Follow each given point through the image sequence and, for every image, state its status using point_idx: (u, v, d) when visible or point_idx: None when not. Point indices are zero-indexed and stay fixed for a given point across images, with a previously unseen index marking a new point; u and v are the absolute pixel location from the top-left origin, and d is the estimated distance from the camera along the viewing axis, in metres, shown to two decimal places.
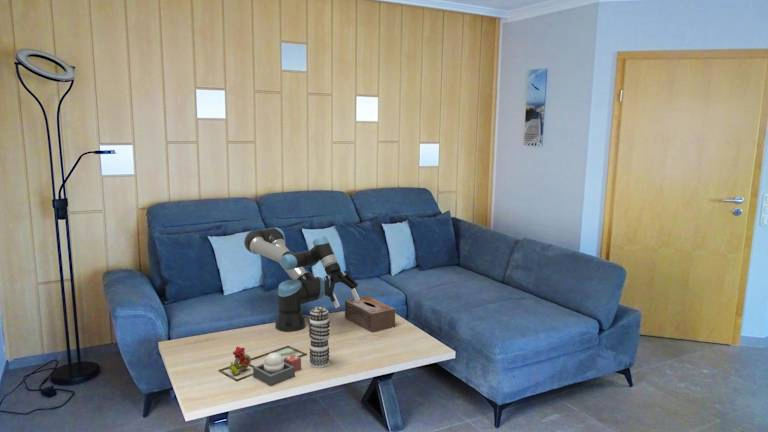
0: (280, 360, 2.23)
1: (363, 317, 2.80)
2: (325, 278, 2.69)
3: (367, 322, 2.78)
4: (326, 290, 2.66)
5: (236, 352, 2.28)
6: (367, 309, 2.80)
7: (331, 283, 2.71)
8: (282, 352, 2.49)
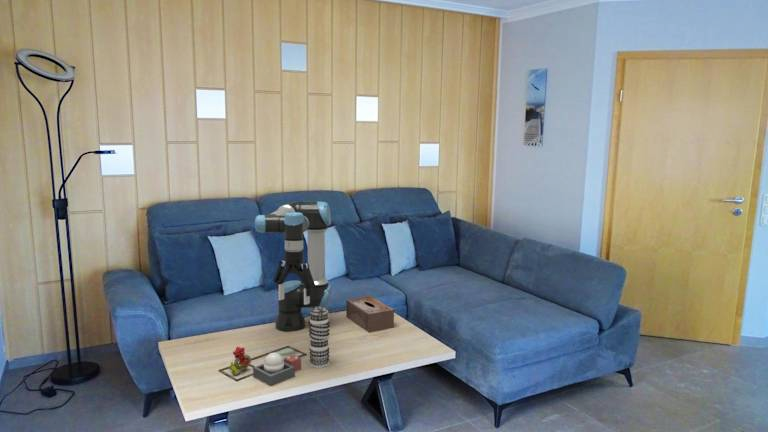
0: (280, 360, 2.23)
1: (361, 317, 2.81)
2: None
3: (365, 322, 2.78)
4: None
5: (236, 352, 2.28)
6: (365, 309, 2.80)
7: None
8: (282, 352, 2.49)
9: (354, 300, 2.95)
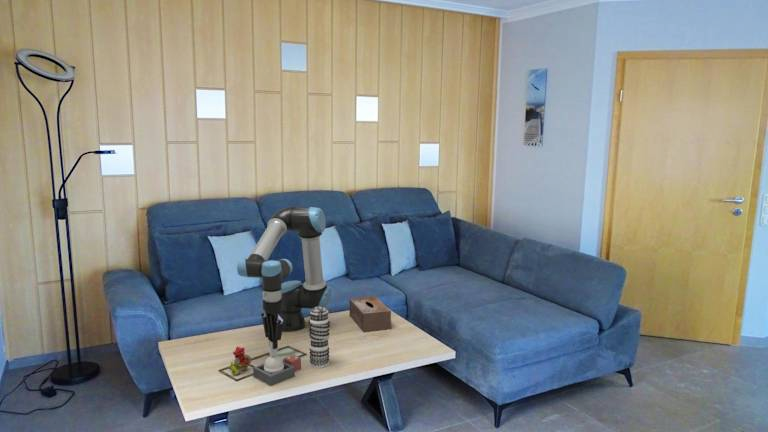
0: (280, 362, 2.24)
1: (359, 316, 2.81)
2: None
3: (361, 322, 2.78)
4: None
5: (236, 352, 2.28)
6: (363, 309, 2.81)
7: None
8: (282, 352, 2.49)
9: (357, 299, 2.96)
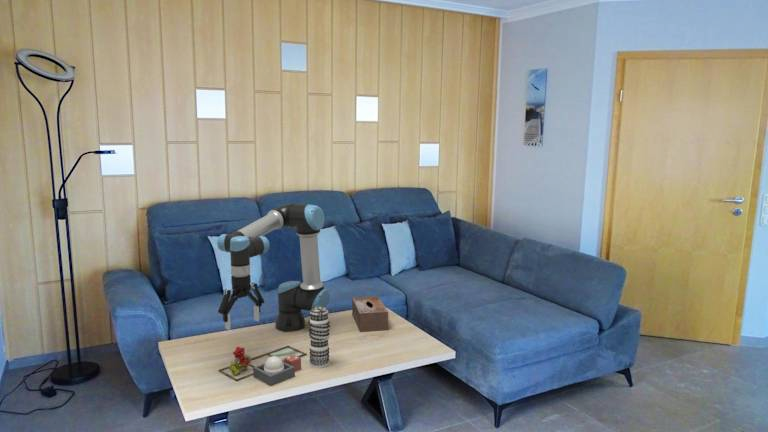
0: (280, 364, 2.24)
1: (357, 316, 2.82)
2: (226, 292, 2.19)
3: (358, 321, 2.79)
4: (221, 308, 2.18)
5: (236, 352, 2.28)
6: (361, 308, 2.81)
7: (232, 298, 2.22)
8: (282, 352, 2.49)
9: (359, 299, 2.97)
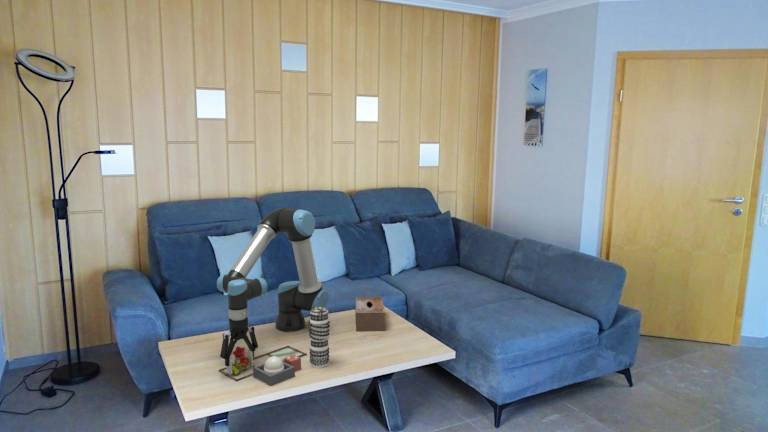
0: (280, 364, 2.24)
1: None
2: (224, 337, 2.23)
3: None
4: (222, 353, 2.23)
5: (236, 352, 2.28)
6: (359, 308, 2.82)
7: (231, 342, 2.26)
8: (282, 352, 2.49)
9: (361, 298, 2.97)
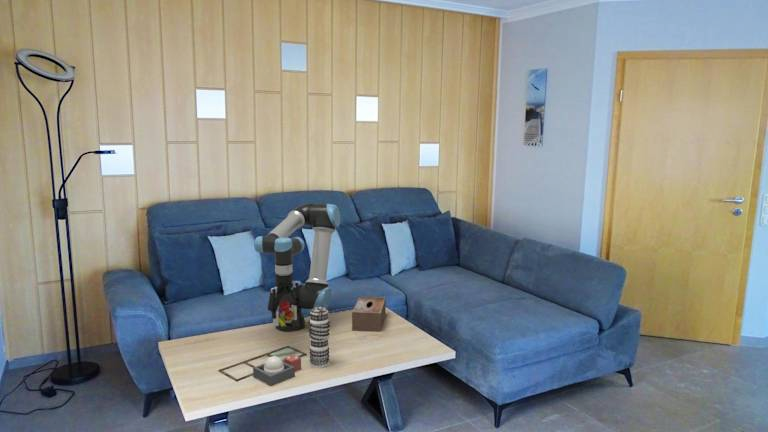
0: (280, 364, 2.24)
1: None
2: (272, 291, 2.38)
3: None
4: (270, 306, 2.38)
5: (282, 306, 2.43)
6: (358, 307, 2.83)
7: (277, 296, 2.41)
8: (282, 352, 2.49)
9: (364, 298, 2.98)
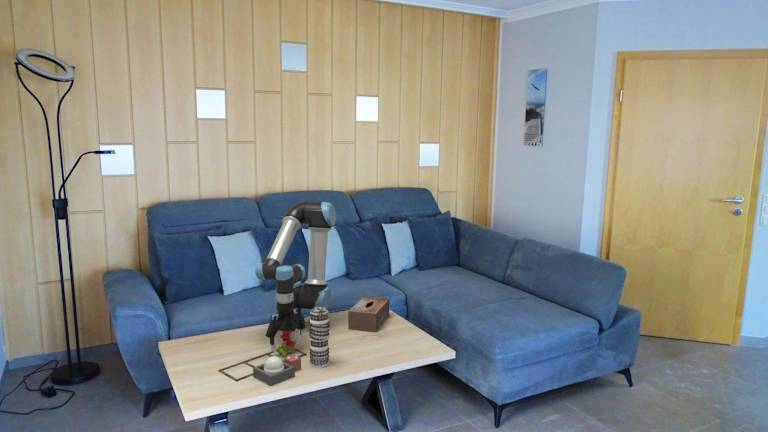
0: (280, 364, 2.24)
1: None
2: (273, 318, 2.40)
3: None
4: (268, 332, 2.39)
5: (283, 335, 2.45)
6: (356, 307, 2.84)
7: (277, 323, 2.42)
8: None
9: (368, 298, 2.98)
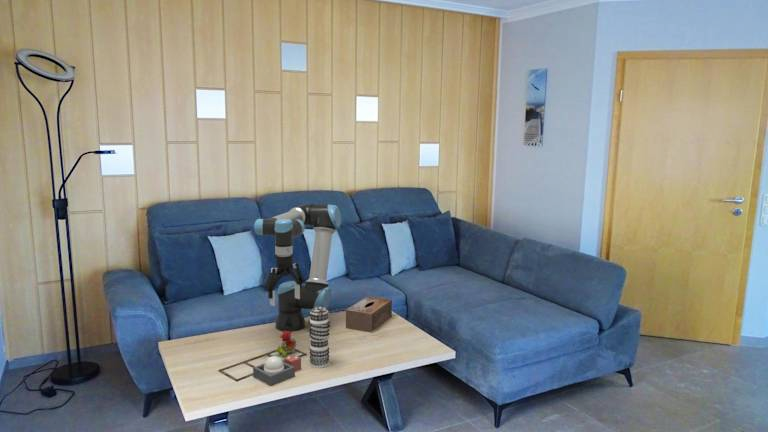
0: (280, 364, 2.24)
1: None
2: (271, 271, 2.36)
3: None
4: (267, 285, 2.35)
5: (283, 335, 2.45)
6: (355, 306, 2.85)
7: (276, 276, 2.39)
8: None
9: (370, 298, 2.98)
